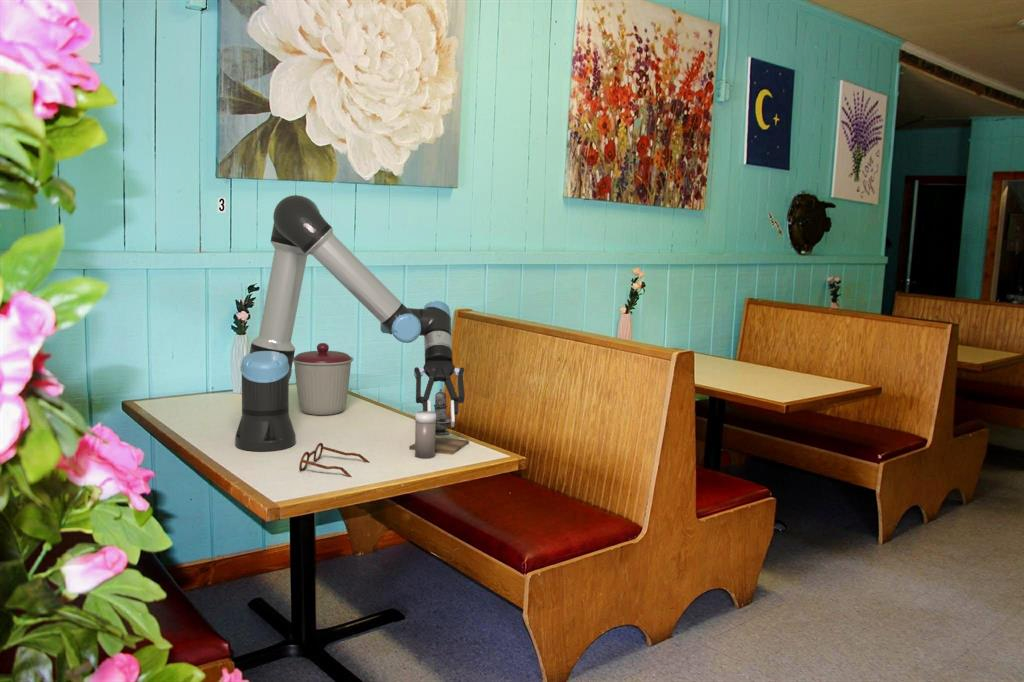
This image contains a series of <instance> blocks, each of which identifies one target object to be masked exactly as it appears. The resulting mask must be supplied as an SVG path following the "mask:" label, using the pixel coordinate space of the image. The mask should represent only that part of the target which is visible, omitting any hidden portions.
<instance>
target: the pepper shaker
mask: <svg viewBox="0 0 1024 682" xmlns="http://www.w3.org/2000/svg"><path fill="white" fill-rule="evenodd" d="M414 415H415V417H414V421H415V422H414V423H415V428H414V429H415V430H414V431H415V432H414V433H415V434H414V435H415V436H414V438H415V440H414V443H415V450H414V457H415V458H417V459H425V460H427V459H428V460H429V459H433V458H435V457H436V453H435V437H436V436H435V425H436V413H435V411H433V410H431V411H423V410H419V411H417V412H414Z"/></svg>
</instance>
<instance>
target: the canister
mask: <svg viewBox="0 0 1024 682" xmlns="http://www.w3.org/2000/svg"><path fill="white" fill-rule="evenodd" d="M329 347H330V346H329V345H328V343H325V342H320V343H318V344H317V345H316V349H317V350H310V351H309V350H308V351H304V352H303V351H302V352H300V353H297V354H296V355H294V358H293V365H294V374H295V382H296V385H295V386H296V392H297V397H298V398H297V399H298V406H299V408H300V409H301V411H302V412H304V413H305V414H308V415H312V416H331V415H337V414H338V413H339V414H340V413H341V412H343V410H344V409H345V407H346V405H347V399H348V394H349V393H348V392H349V385H350V383H349V382H350V375H351V368H352V362H353V361H354V357H352V356H350V355H349V354H348V353H345V352H341V351H337V350H329V349H330V348H329Z"/></svg>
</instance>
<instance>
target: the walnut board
mask: <svg viewBox="0 0 1024 682" xmlns="http://www.w3.org/2000/svg"><path fill="white" fill-rule="evenodd" d="M469 443H470V440H467V439H457V438H451V437H443V436H435V454H437V453H438V454H444V455H454V454H456V453H457V452H459V451H460V450H461V449H463V448H465V446H467V445H469ZM408 446H409V445H408ZM408 448H409V449H408V450H412V451H415V442H414V443H413V444H411V445H410V446H409V447H408Z"/></svg>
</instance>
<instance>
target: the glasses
mask: <svg viewBox="0 0 1024 682" xmlns="http://www.w3.org/2000/svg"><path fill="white" fill-rule="evenodd" d="M318 449H320V452H319V454H318V456H317V453H318ZM323 450H324V451H327V452H332V453H336V454H338V455H339V454H340V455H342V456H345V457H346V456H354V457H359V458H360V459H361V460H362V461H364V462H365V463H366V462H367V464H368V463H369V464H370V461H369V460H368V459H367V458H366V457H364V456H363V455H362V454H360V453H355V452H344V451H341V450H337V449H334V448H331V447H328V446H324V444H323V442H319V443H318V444H317V445H316V447H315V449H314V450H312V451H311V452H309V451H305V452H304V453H303V454H302V455H301V458H300V461H299V466H298V469H299V472H301V471H302V472H303V471H305V470H306V469H307V467H308V465H309V466H313V467H318V468H322V469H323V470H333V469H334V470H339V471H341V472H342V473H343V474H344V475H345V476H346V477H348V478H353V476H352V475H351V474H350V473H349V472H348V471H347V470H346V469H345V468H344V467H341V466H336V465H332V466H328V465H323V464H320V463H317V462H318V461H319V460H320V459H321V456H322V454H323ZM311 456H313V462H312V461H309V460H310V458H311ZM305 457H306V460H305ZM317 460H318V461H317ZM303 463H304V466H303Z"/></svg>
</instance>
